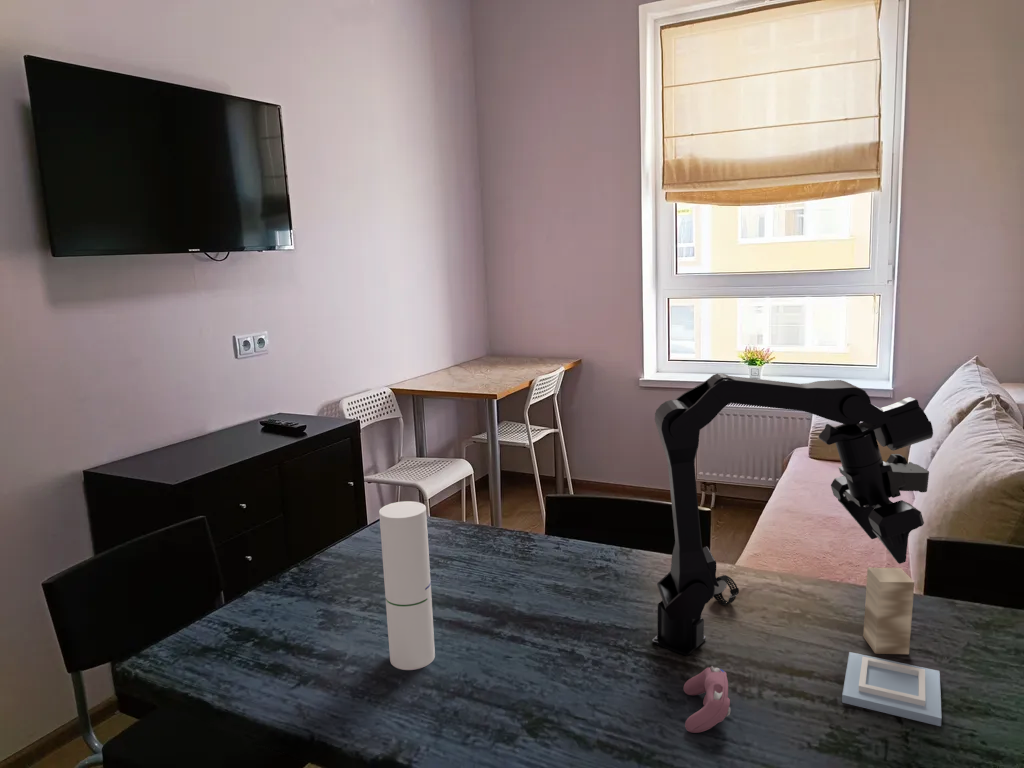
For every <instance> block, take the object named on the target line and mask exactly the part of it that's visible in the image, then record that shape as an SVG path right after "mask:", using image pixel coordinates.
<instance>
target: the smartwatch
mask: <svg viewBox="0 0 1024 768" xmlns="http://www.w3.org/2000/svg"><path fill="white" fill-rule="evenodd" d="M716 580H717V582H718V584H719V587H717V586H715V594H714V597H713V598H714V600H715V601H716V602H718V604H720V605H722V606H726V605H730V604H732V603H733V602H734V601H735V600H736V597H737V596H738V595H739V592H740V589H739V587H738V586H737V584H736V582H735V581H734V580H733V579H732V578H731V577H730V576H729V575H726V574H724V575H721V576H716ZM727 586H728V587H729V593H730V594H729V597H728V600H726V599H725V598H724V596H723V592H724V591H725V590H726V589H727ZM726 602H727V603H726Z"/></svg>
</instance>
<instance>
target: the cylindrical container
mask: <svg viewBox="0 0 1024 768" xmlns="http://www.w3.org/2000/svg"><path fill="white" fill-rule="evenodd" d="M378 513H379V516H378V517H379V527H380V541H381V543H380V544H381V556H382V567H383V579H384V580H383V581H384V595H385V610H386V622H387V636H388V637H387V639H388V646H389V647H388V648H389V661H390V664H391V665H392V666H393V667H394V668H396V669H398V670H403V671H413V670H419V669H422V668H425V667H427V666H429V665H430V664H431V663H432V662H433V661H434V660H435V657H436V653H435V652H436V651H435V650H436V649H435V634H434V616H433V615H434V614H433V600H432V598H433V597H432V584H431V571H430V570H431V568H430V566H431V565H430V555H429V554H430V550H429V535H428V518H427V517H428V516H427V506H426V505H425V504H424V503H422V502H419V501H413V500H412V501H411V500H410V501H404V500H403V501H397V502H392V503H388V504H386V505H384V506H382V507H381V508H380V509H379V512H378Z"/></svg>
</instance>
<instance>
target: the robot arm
mask: <svg viewBox="0 0 1024 768" xmlns="http://www.w3.org/2000/svg"><path fill="white" fill-rule="evenodd" d="M730 404H738V405H747V406H754V407H755V406H756V407H762V408H763V407H765V408H771V409H772V408H774V409H781V410H783V409H784V410H790V411H799V412H805V413H809V414H812V415H814V416H816V417H817V416H818V417H821V418H823V419H826V420H828V421H829V420H830V421H832V422H835V423H839V425H836V426H833V425H832V424H829V423H826V424H825V426H824V428H823V430H822V431H820V433H819V435H818V439H819V440H820V441H822V442H824V443H825V444H826V445H828V446H830V445H833V444H835V447H836V449H837V453H838V456H839V460H840V462H841V466H838V470H839V473H840V474H841V476H839V477H834V479H833V480H832V482H831V484H830V488H831V490H832V494H833V496H834V497H835V498H837V501H838V502H839V503H840V505H841V506H842V507H843V508H844V509H845V510H846V511H847V512H848V514H850V516H851V518H853V520H854V521H855V523H857V524H858V526H859V527H860V528H861V529H862V530H863V531H864V532H865V533H866V535H867V536H868V537H869V538H870V539H871V540H875V539H878V540H879V541H880V543H882V545H883V546H884V548H886V551H888V553H890V555H891V556H892V558H893V559H894V560H895V561H896V562H897V563H898V564H899V565H900V564H904V563H905V562H907V553H908V541H909V536H910V533H911V532H912V531H915V530H917V529H918V528H920V527H923V526H924V524H925V521H924V517H923V514H922V511H920V510H919V509H918V508H917V507H915V506H913V505H912V504H911V503H909V502H907V501H905V500H901V499H900V500H897V501H894V502H893V501H891V500H890V498H892V499H894V498H897V497H901V492H919V493H927V492H928V486H929V476H930V471H929V470H927V469H925V467H923V466H921V465H919V464H916V463H913V462H911V461H909V462H908V460H907V459H906V457H905V456H903V455H902V454H900V453H891V454H890V455H889V456H888V458H887V460H886V461H885V460H883V457H882V454H881V451H880V447H879V445H880V446H882V447H887V448H888V449H890V450H891V451H893V452H895V451H896V450H899V449H902V448H903V449H904V448H907V447H909V446H911V445H915V444H919V443H921V442H924V441H927V440H930V439H932V438H933V436H934V430H933V425H932V422H931V420H929V418H928V416H927V414H926V413H925V410H923V409H922V407H921V406H920V403H919V400H918V399H916V398H914V397H912V396H911V397H910V396H909V397H905V398H903V399H901V400H899V401H897V402H895V403H892V404H888V405H886V406H883V407H878V406H876V405H874V404H873V403H872V400H871V398H870V395H869V394H868V393H867V391H866V390H864V389H863V388H860V387H858V386H857V385H854V384H851V383H849V382H848V381H845V380H842V379H832V380H830V379H829V380H817V381H813V382H807V383H795V382H787V381H780V380H778V381H777V380H770V379H761V378H760V379H759V378H754V377H753V378H751V377H744V376H733V375H728V374H725V373H721V372H720V373H715V374H713V375H712V376H710V377H709V378H708V379H706V380H705V381H704V382H702V383H699V385H697V386H694V387H693V388H691V389H689V390H687V391H685V392H683V393H682V394H681V395H680V396H679V397H677V398H675V399H669V400H667V401H665V402H663V403H661V404H660V405H659V406H658V408H657V409H656V410H655V411H654V422H655V426H656V429H657V433H658V436H659V440H660V442H661V446H662V448H663V452H664V454H665V457H666V462H667V470H668V471H667V472H668V481H669V489H670V492H669V493H670V500H671V510H672V520H673V529H674V540H675V541H674V545H673V550H672V554H671V562H670V563H671V564H670V570H669V572H668V573H667V574H666V575H665V576H664V577H663V578H661V579H660V580H659V581H658V582H657V584H656V585H657V588H658V591H659V595H660V597H661V601H660V602H659V603H657V608H656V609H657V617H656V619H657V632H656V633H657V635H656V636H654V637H653V638H652V641H651V642H652V644H654V645H656V646H660V647H662V648H664V649H668V650H670V651H672V652H675V653H677V654H681V655H683V656H690V654H691V653H692V652H694V651H695V650H696V649H697V648H698V647H699V646H701V644H703V643H704V642H705V641H706V637H707V636H706V635H705V634H704V633H705V632H704V631H705V627H704V626H705V620H704V618H703V617H702V613H703V611H704V608H705V607H706V606H705V605H706V604H708V603H709V602H710V601H711V600H712V599H713V598H714V594H715V586H717V587H719V584H718V582H717V580H716V578H717V576H716V575H717V561H716V560H715V557H714V556H713V554H712V552H711V551H710V549H709V547H708V546H704V547H703V543H702V541H703V540H702V534H701V533H702V531H701V522H700V510H699V501H698V500H699V499H698V490H697V489H698V488H697V481H696V480H697V477H696V468H695V467H696V466H695V461H696V456H697V453H698V449H699V445H700V432H701V430H702V429H703V428H705V427H706V426H707V425H709V424H710V423H711V422H712V421H713V420H714V419H715V418H716V417H717V415H718V414H719V413H721V411H722V410H723V409H724V408H725V407H727V406H728V405H730ZM878 443H879V444H878Z"/></svg>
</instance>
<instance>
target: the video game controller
mask: <svg viewBox="0 0 1024 768" xmlns="http://www.w3.org/2000/svg"><path fill="white" fill-rule="evenodd" d="M727 676H728V674H727V671H724V670H723V669H722V668H719V667H714V666H713V665H711V666H710V667H709V666H708V667H706V668H705V669H703V670H702V671H701V672H700V673H698V674H696V675H694V676H692V677H690V678H689V679H688V680H686V682H684V685H683V691H684V693H685V694H686V695H688V696H699V695H703V694H705V695H704V698H703V701H702V705H703V706H702V707H701V709H699V710H698V711H696V712H694V713H693V714H691V715H690V716H688V717H687V719H685V722H684V723H685V724H684V726H685V727H684V728H685V729H686V731H688V733H692V734H697V733H698V734H699V733H703V732H705V731H708V730H710V729H712V728H713V727H715V726H716V725H717V724H718V723H721V722H723V721H724V720H725V718H726V717H727V718H728V716H730V714H731V707H730V703H731V700H730V698H729V681H728V677H727Z"/></svg>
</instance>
